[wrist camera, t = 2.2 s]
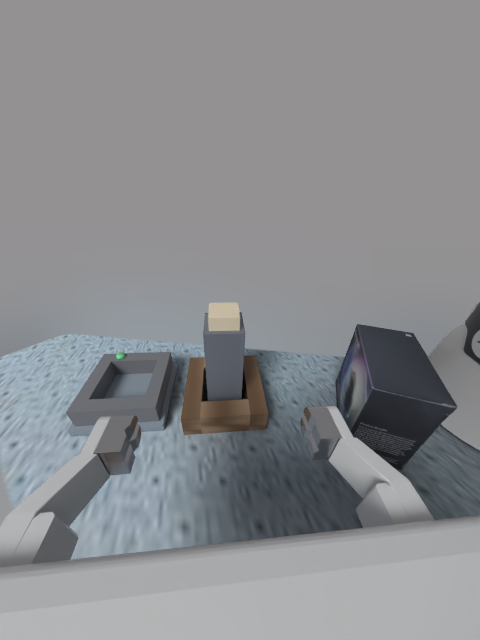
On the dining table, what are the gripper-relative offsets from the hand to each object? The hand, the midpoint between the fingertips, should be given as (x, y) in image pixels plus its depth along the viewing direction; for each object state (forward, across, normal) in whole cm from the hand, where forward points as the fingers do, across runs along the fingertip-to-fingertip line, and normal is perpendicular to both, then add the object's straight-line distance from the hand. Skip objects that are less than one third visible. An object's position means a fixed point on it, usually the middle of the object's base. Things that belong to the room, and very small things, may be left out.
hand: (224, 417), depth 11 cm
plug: (+12, 0, +14) cm, 19 cm away
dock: (+13, +12, +14) cm, 23 cm away
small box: (+8, -18, +14) cm, 24 cm away
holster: (+12, 0, +14) cm, 19 cm away
